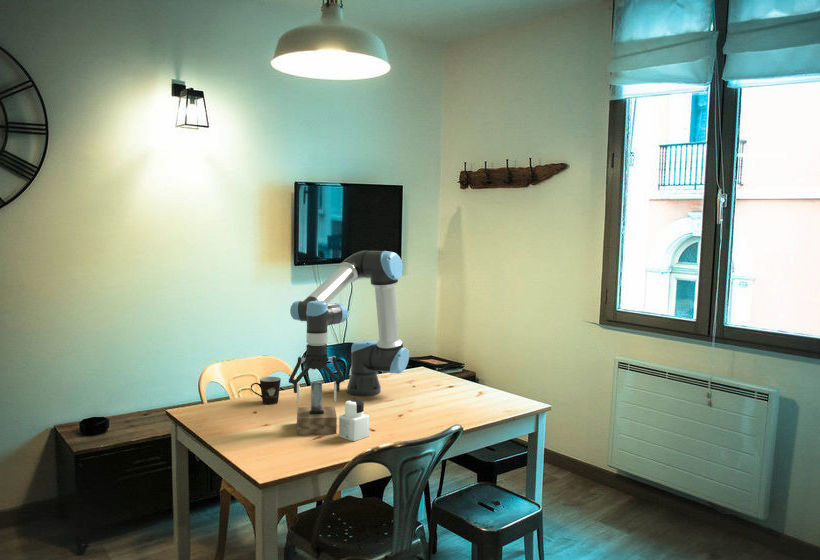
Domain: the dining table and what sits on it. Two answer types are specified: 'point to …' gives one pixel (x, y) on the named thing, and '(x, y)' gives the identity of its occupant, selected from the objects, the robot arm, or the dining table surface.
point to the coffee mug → (269, 389)
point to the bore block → (316, 421)
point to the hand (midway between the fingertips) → (316, 401)
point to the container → (354, 421)
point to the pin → (316, 397)
